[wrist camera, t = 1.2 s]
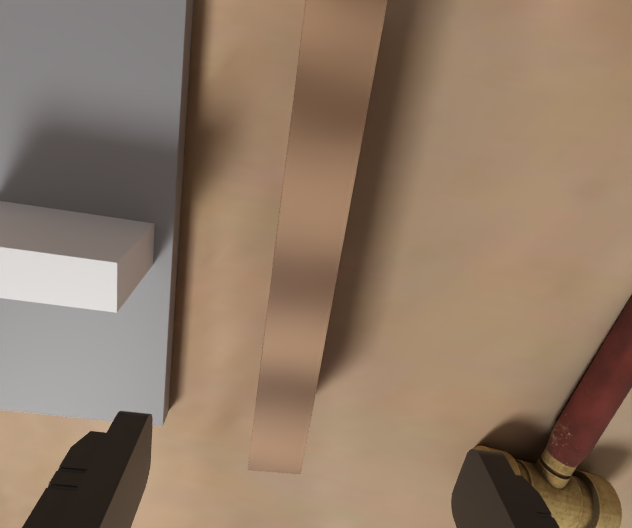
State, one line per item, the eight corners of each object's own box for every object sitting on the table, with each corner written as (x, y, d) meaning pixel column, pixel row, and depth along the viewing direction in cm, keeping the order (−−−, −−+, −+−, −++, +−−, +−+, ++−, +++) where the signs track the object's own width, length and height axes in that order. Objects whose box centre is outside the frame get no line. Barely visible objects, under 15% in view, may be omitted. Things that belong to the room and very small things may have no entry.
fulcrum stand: (-31, -54, 21) (-182, -113, 14) (194, -10, 22) (150, -46, 15) (13, 394, 30) (-66, 482, 23) (168, 410, 31) (134, 499, 24)
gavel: (641, 244, 24) (787, 296, 26) (588, 224, 29) (715, 269, 30) (475, 532, 30) (601, 559, 32) (451, 479, 35) (563, 506, 36)
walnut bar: (305, 2, 22) (308, -22, 17) (365, 13, 22) (389, -7, 17) (256, 399, 31) (247, 470, 26) (299, 403, 31) (300, 474, 26)
